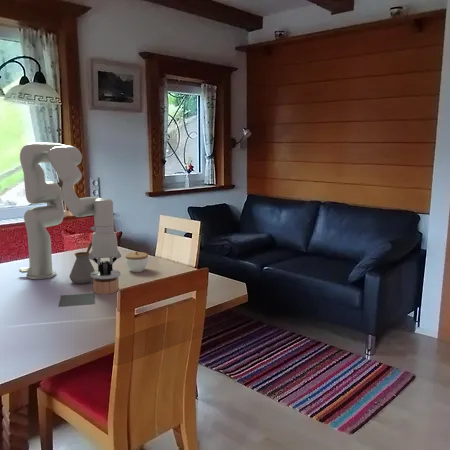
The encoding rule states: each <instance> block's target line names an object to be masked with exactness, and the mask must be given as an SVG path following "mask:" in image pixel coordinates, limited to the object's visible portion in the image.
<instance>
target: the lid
mask: <svg viewBox="0 0 450 450" xmlns="http://www.w3.org/2000/svg"><path fill="white" fill-rule="evenodd" d="M100 262H101V264H102V274H100V272H98V270H95V271H94V272H92V273H91V274H90V277H91V278H93V279H99V280H106V279H113V278H117V277H118V278H119V277H120V276H121V271H119V270H116V269H113V271H111V274H110V273H109V262H110V260H109V261H108V260H101V261H100Z"/></svg>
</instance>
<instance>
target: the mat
mask: <svg viewBox="0 0 450 450" xmlns="http://www.w3.org/2000/svg"><path fill="white" fill-rule="evenodd" d="M95 293H96V292H90V293H89V292H88V293H77V294H62V295H60V297H59V302H58V308H60V307H61V308H62V307H64V308H65V307H74V306H87V305H88V306H89V305H90V306H91V305H95V304H96V294H95Z"/></svg>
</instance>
